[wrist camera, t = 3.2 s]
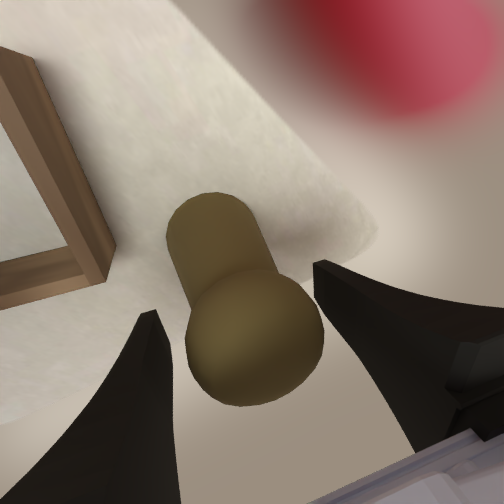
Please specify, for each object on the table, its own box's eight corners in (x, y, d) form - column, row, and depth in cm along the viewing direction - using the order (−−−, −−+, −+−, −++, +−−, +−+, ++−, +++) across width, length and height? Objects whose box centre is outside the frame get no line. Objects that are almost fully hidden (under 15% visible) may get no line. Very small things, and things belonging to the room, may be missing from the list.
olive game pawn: (262, 261, 20) (350, 394, 11) (181, 286, 19) (204, 455, 10) (249, 181, 17) (355, 273, 8) (151, 206, 16) (145, 343, 7)
